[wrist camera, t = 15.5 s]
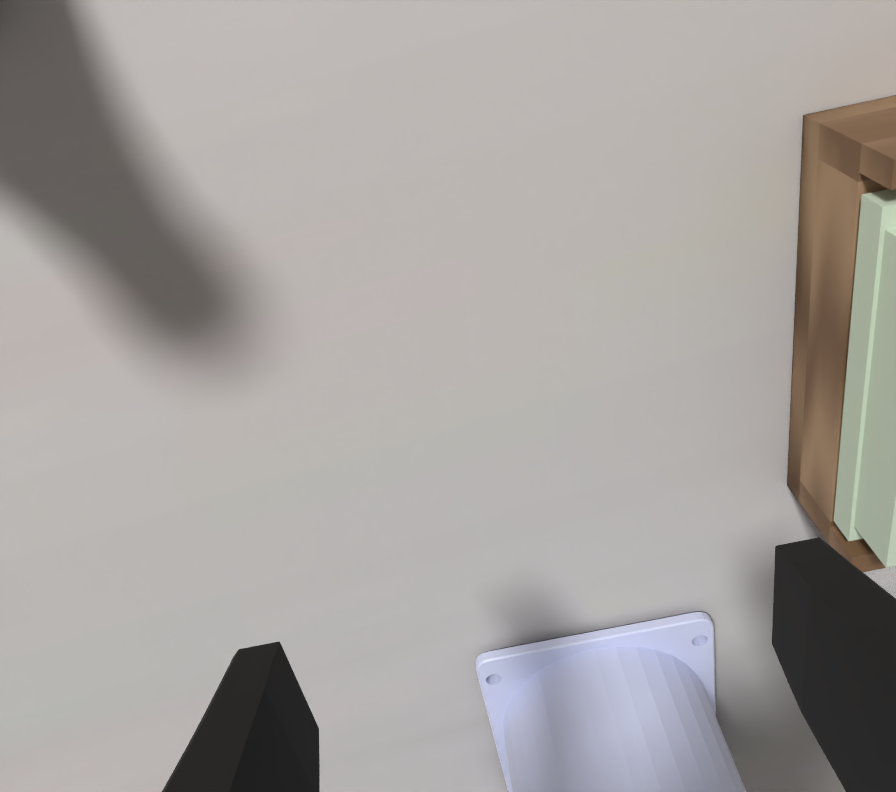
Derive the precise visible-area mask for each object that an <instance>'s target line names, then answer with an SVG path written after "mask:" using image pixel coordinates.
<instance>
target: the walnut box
mask: <svg viewBox="0 0 896 792" xmlns="http://www.w3.org/2000/svg"><path fill="white" fill-rule="evenodd" d="M886 189H890V190H895V189H896V95H895V96H890V97H886V98H881V99H876V100H872V101H867V102H862V103H858V104H853V105H848V106H844V107H839V108H834V109H830V110H825V111H820V112H816V113H811V114H806V115H803V135H802V158H801V181H800V203H799V226H798V249H797V272H796V294H795V317H794V340H793V363H792V386H791V408H790V431H789V454H788V477H787V485H788V487H789V488H790V490H791V491H792V492H793V494H794V495H795V497H796V498H797V500H798V501H799V502H800V504H801V505H802V507H803V508H804V509H805V511H806V512H807V514H808V515H809V517H810V518H811V519H812V521H813V522H814V524H815V525H816V526H817V528H818V529H819V531H820V532H821V534H822V535H823V536H824V538H825V539H826V541H827V542H828V544H829V545H830V546H831V547H832V548H833V549H835V550H836V551H837V552H838V553H840V554H841V555H842V556H843V557H844V558H846V559H847V560H848V561H849V562H851V563H852V564H853V565H854V566H856V567H857V568H858V569H859V570H860V571H862V572H866V571H871V570H876V569H882V568H886V567H885V566H884V565H883V563H882V562H881V561H880V559H879V558H878V557H877V555H876V554H875V553H874V552H873V550H872V549H871V548H870V546H869V545H868V544H867V542H866V541H865V540H864V538H863V539H858V540H853V541H848V540H847V538H846V537H845V536H844V534H843V533H842V532H841V530H840V529H839V528H838V526H837V525H836V524H835V522H834V510H835V498H836V486H837V475H838V463H839V452H840V440H841V428H842V417H843V405H844V394H845V382H846V370H847V359H848V347H849V336H850V324H851V312H852V301H853V289H854V278H855V266H856V254H857V243H858V231H859V220H860V208H861V196H862V194H867V193H872V192H876V191H881V190H886Z"/></svg>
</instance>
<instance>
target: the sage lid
mask: <svg viewBox="0 0 896 792" xmlns="http://www.w3.org/2000/svg"><path fill="white" fill-rule="evenodd" d="M834 522H835V524H836V525H837V526H838V528H839V529H840V530H841V532H842V533H843V534H844V536H845V537H846V538H847V540H848V541H853V540H858V539H863V538H864V540H865V541H866V542H867V544H868V545H869V546H870V548H871V549H872V550H873V552H874V553H875V554H876V555H877V557H878V558H879V559H880V561H881V562H882V563H883V565H884V566H885V567H886V568H887V567H893V566H896V189H895V190H890V189H886V190H881V191H876V192H872V193H867V194H862V196H861V208H860V220H859V231H858V243H857V254H856V266H855V278H854V289H853V301H852V312H851V324H850V336H849V347H848V359H847V370H846V382H845V394H844V405H843V417H842V428H841V440H840V452H839V463H838V475H837V486H836V498H835V510H834Z"/></svg>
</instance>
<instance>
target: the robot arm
mask: <svg viewBox="0 0 896 792" xmlns="http://www.w3.org/2000/svg"><path fill="white" fill-rule="evenodd" d="M699 635H700V636H699ZM696 636H697V637H696ZM772 644H773V647H774V649H775V652H776V654H777V656H778V659H779V661H780V664H781V666H782V668H783V671H784V673H785V676H786V678H787V681H788V683H789V685H790V687H791V690H792V692H793V694H794V696H795V699H796V701H797V703H798V706H799V708H800V710H801V712H802V714H803V716H804V718H805V719H806V721H807V723H808V725H809V727H810V729H811V730H812V732H813V734H814V736H815V737H816V739H817V741H818V743H819V745H820V746H821V748H822V750H823V752H824V753H825V755H826V757H827V759H828V761H829V762H830V764H831V766H832V768H833V769H834V771H835V773H836V775H837V776H838V778H839V780H840V782H841V783H842V785H843V787H844V789H845V790H846V792H896V599H895V598H894V597H893V596H892V595H890V594H889V593H888V592H887V591H885V590H884V589H883V588H882V587H880V586H879V585H878V584H877V583H875V582H874V581H873V580H872V579H870V578H869V577H868V576H867V575H865V574H864V573H863V572H862V571H860V570H859V569H858V568H857V567H856V566H854V565H853V564H852V563H851V562H849V561H848V560H847V559H846V558H844V557H843V556H842V555H841V554H840V553H838V552H837V551H836V550H835V549H833V548H832V547H831V546H830V545H828V544H827V543H826V542H824V541H823V540H822V539H820V538H814V539H809V540H804V541H799V542H793V543H788V544H783V545H778V546H776V547H775V575H774V603H773V630H772ZM475 665H476V672H477V676H478V680H479V683H480V687H481V691H482V695H483V699H484V702H485V706H486V710H487V714H488V718H489V721H490V725H491V729H492V733H493V737H494V740H495V744H496V748H497V752H498V755H499V759H500V763H501V767H502V771H503V774H504V778H505V782H506V786H507V790H508V792H746V789H745V787H744V784H743V782H742V779H741V777H740V775H739V772H738V770H737V767H736V765H735V763H734V760H733V758H732V755H731V753H730V751H729V748H728V746H727V743H726V741H725V738H724V736H723V734H722V731H721V729H720V726H719V724H718V722H717V719H716V703H715V656H714V625H713V623H712V620H711V618H710V616H709V615H708V614H706V613H703V612H693V613H688V614H683V615H677V616H672V617H667V618H662V619H656V620H651V621H646V622H641V623H635V624H630V625H625V626H620V627H614V628H609V629H604V630H599V631H593V632H588V633H583V634H577V635H572V636H567V637H562V638H556V639H551V640H546V641H541V642H535V643H530V644H525V645H520V646H514V647H509V648H504V649H499V650H493V651H488V652H485V653H482V654H481V655H480V656H478V657H477V659H476V663H475ZM493 674H495V675H493ZM162 792H319V728H318V726H317V724H316V721H315V719H314V717H313V715H312V712H311V710H310V708H309V706H308V704H307V701H306V699H305V697H304V695H303V692H302V690H301V688H300V686H299V684H298V681H297V679H296V677H295V675H294V672H293V670H292V668H291V666H290V664H289V661H288V659H287V657H286V655H285V653H284V650H283V648H282V646H281V644H280V642H275V643H270V644H264V645H259V646H254V647H249V648H244V649H239V650H238V651H237V653H236V654H235V655H234V657H233V659H232V661H231V663H230V665H229V667H228V669H227V671H226V673H225V675H224V677H223V679H222V681H221V683H220V685H219V687H218V689H217V691H216V693H215V695H214V696H213V698H212V700H211V702H210V704H209V706H208V708H207V710H206V712H205V714H204V716H203V718H202V720H201V722H200V723H199V725H198V727H197V729H196V731H195V733H194V735H193V737H192V739H191V740H190V742H189V744H188V746H187V748H186V750H185V751H184V753H183V755H182V757H181V759H180V760H179V762H178V764H177V766H176V768H175V769H174V771H173V773H172V775H171V777H170V778H169V780H168V782H167V784H166V786H165V787H164V789H163V791H162Z"/></svg>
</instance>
